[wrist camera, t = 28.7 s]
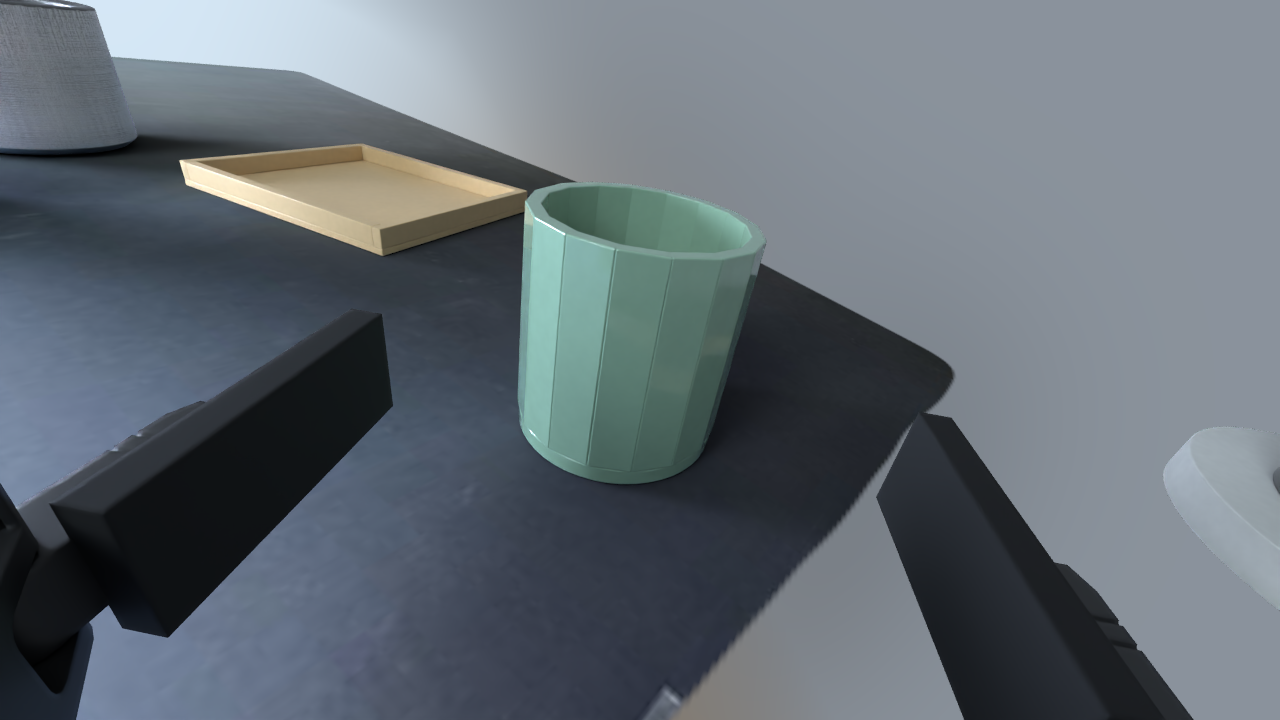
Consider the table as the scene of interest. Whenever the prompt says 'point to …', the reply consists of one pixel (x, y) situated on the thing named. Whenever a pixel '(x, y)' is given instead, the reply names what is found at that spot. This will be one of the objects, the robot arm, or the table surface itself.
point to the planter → (58, 82)
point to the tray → (357, 193)
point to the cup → (628, 325)
